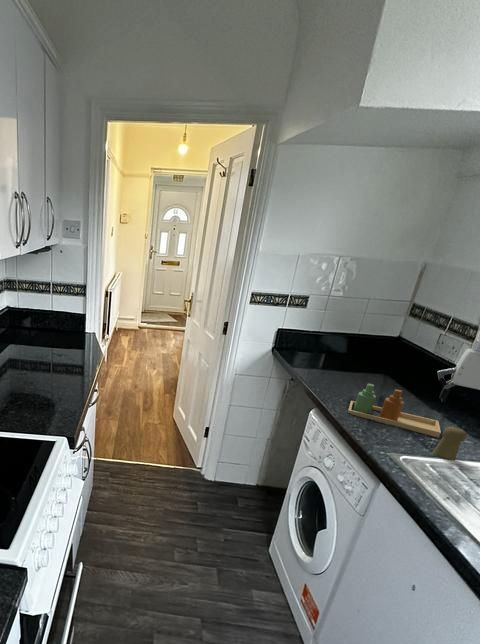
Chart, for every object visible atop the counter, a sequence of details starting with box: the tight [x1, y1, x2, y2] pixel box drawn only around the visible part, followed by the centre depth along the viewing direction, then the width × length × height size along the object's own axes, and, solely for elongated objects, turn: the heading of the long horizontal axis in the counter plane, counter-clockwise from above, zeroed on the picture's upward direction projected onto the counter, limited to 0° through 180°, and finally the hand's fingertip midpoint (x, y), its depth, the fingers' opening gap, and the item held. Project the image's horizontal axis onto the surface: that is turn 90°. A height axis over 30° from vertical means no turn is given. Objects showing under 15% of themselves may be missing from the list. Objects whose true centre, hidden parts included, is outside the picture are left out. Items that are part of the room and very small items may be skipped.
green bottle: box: [352, 383, 377, 415], centre depth 153 cm, size 6×6×11 cm
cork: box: [430, 426, 467, 461], centre depth 123 cm, size 6×6×11 cm
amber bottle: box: [378, 389, 405, 421], centre depth 149 cm, size 6×6×11 cm
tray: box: [347, 400, 442, 439], centre depth 151 cm, size 28×12×2 cm, turn 56°
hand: (463, 405), depth 118 cm, fingers open, 9 cm apart
